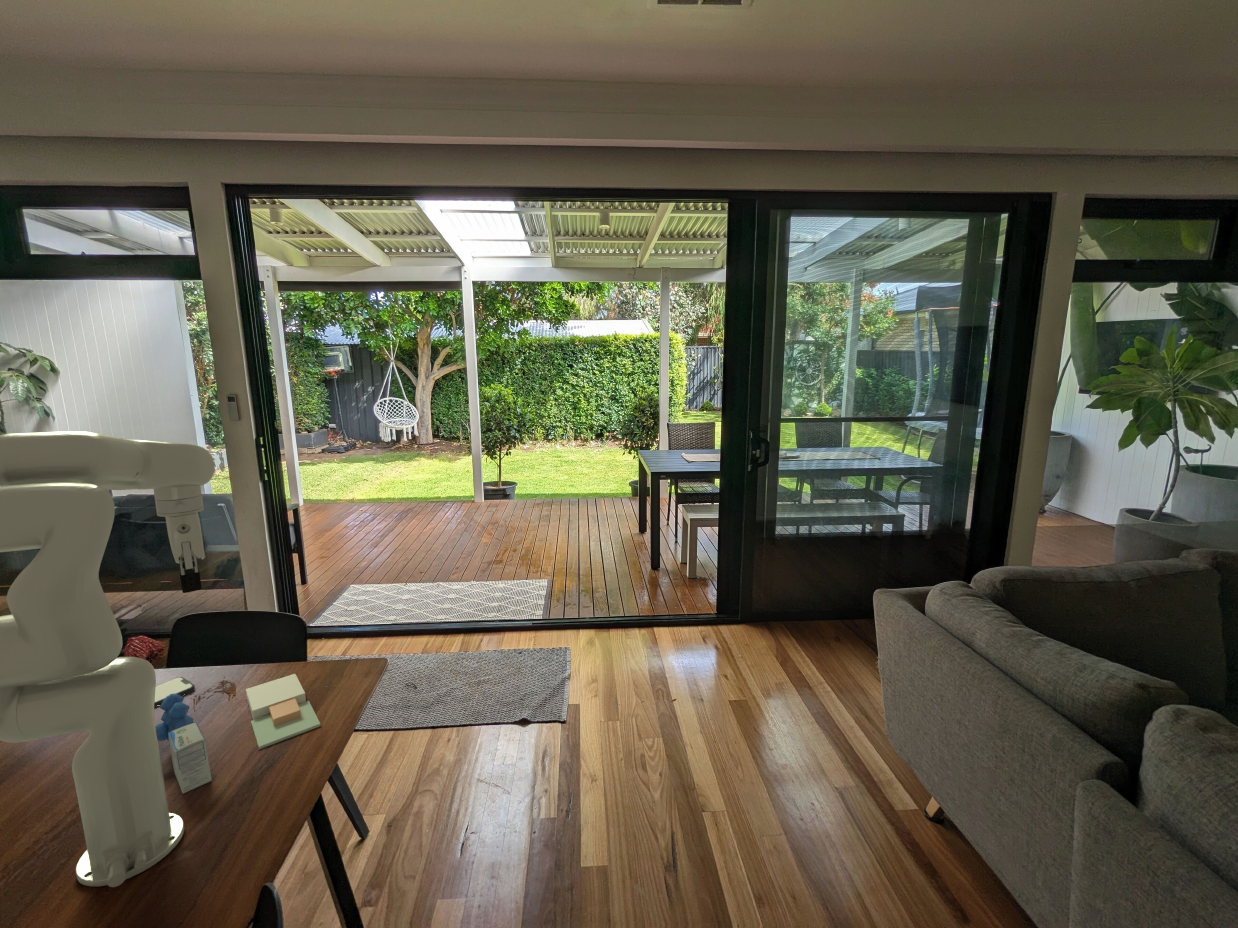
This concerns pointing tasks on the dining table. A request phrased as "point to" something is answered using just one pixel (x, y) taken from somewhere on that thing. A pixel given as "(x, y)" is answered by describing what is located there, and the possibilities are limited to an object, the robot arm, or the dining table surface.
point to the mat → (284, 726)
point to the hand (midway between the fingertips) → (192, 590)
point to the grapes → (172, 716)
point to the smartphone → (172, 689)
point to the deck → (274, 694)
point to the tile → (284, 711)
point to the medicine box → (189, 757)
